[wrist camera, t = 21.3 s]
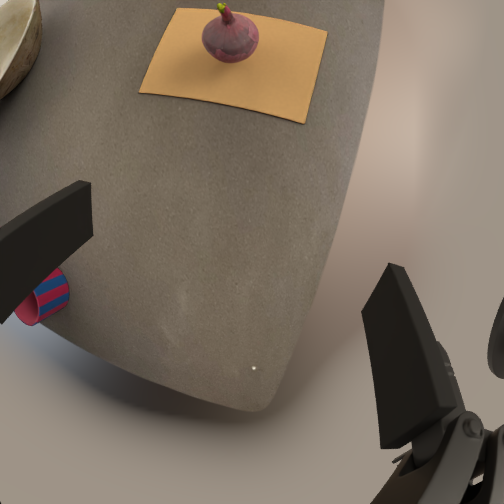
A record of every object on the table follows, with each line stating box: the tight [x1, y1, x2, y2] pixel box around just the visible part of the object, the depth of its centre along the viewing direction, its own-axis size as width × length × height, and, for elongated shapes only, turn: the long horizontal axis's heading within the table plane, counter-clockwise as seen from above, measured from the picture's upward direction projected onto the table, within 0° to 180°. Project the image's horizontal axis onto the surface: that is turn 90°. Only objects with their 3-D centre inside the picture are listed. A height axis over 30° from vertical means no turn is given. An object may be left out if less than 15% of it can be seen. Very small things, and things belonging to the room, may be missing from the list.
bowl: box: [0, 0, 42, 99], centre depth 22 cm, size 24×24×10 cm
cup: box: [14, 268, 69, 326], centre depth 29 cm, size 7×10×7 cm
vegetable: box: [202, 3, 259, 63], centre depth 22 cm, size 6×6×10 cm
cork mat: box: [139, 8, 328, 124], centre depth 27 cm, size 20×14×1 cm
